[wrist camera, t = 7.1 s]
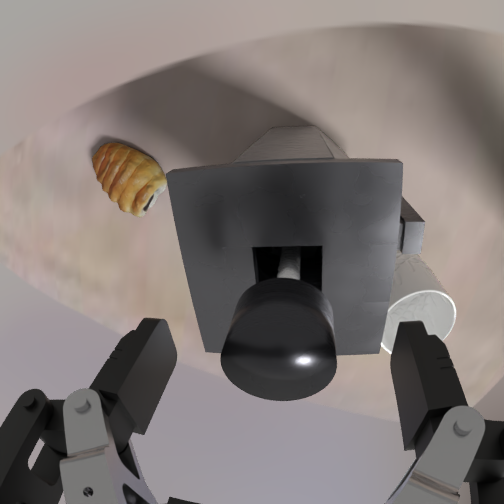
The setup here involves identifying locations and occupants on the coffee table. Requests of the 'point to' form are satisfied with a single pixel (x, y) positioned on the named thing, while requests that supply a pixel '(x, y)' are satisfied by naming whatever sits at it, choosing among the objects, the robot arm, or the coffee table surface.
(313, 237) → the square french press
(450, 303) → the white cup
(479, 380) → the coffee table surface
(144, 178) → the pastry
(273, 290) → the plunger
